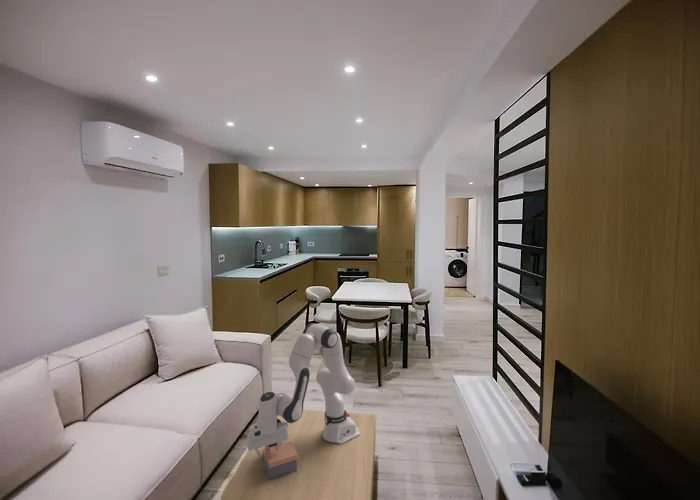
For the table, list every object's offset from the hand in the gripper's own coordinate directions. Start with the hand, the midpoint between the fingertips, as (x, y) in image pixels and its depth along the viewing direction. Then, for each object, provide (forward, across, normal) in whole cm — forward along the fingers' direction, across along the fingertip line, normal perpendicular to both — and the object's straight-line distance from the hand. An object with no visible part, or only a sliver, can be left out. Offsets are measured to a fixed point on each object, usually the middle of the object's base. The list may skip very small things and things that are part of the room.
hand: (267, 452), depth 178 cm
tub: (+11, -6, 0) cm, 13 cm away
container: (+11, -7, -13) cm, 18 cm away
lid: (+4, -6, 0) cm, 8 cm away
